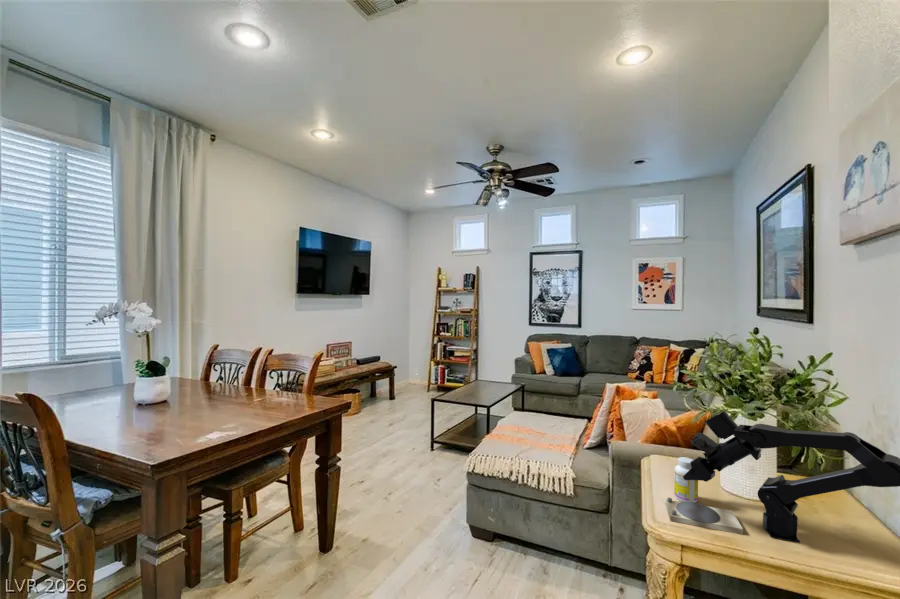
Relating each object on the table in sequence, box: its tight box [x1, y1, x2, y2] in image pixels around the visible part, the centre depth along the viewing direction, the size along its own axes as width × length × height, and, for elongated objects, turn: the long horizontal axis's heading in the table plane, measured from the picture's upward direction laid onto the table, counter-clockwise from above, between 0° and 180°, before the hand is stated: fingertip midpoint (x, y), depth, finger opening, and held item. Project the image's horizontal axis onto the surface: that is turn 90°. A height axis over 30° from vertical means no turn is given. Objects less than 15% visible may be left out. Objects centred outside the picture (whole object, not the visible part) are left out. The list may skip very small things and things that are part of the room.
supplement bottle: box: [673, 456, 699, 503], centre depth 130 cm, size 7×7×13 cm
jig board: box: [664, 497, 744, 535], centre depth 119 cm, size 18×11×2 cm, turn 70°
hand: (689, 474), depth 129 cm, fingers open, 9 cm apart
